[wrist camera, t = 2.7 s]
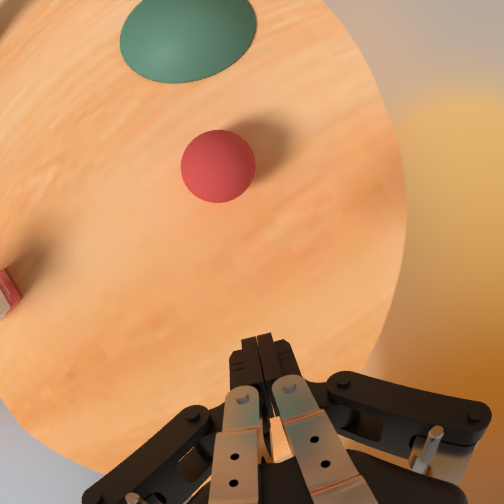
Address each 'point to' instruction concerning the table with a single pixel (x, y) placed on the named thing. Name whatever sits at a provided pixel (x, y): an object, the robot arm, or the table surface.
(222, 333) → the table surface
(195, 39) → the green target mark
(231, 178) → the ball
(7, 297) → the ink cartridge box
